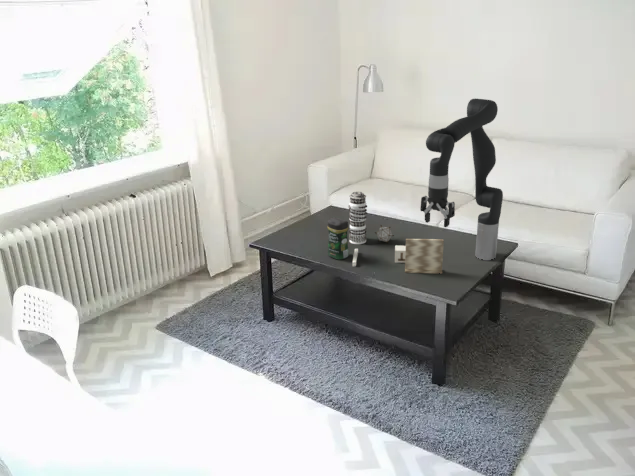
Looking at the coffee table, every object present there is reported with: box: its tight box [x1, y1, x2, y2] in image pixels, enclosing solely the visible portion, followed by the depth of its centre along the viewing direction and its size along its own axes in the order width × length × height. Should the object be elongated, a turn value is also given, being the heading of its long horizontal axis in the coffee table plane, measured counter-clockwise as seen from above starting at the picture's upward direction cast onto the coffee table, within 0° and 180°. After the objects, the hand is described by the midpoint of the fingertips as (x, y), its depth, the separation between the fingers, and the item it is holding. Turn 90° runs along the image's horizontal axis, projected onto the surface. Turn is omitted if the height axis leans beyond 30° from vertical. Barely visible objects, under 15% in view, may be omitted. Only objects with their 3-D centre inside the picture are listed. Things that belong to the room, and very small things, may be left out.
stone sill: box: [352, 248, 359, 267], centre depth 279 cm, size 16×2×2 cm, turn 173°
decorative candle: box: [348, 191, 368, 245], centre depth 295 cm, size 9×9×25 cm
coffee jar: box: [327, 216, 350, 260], centre depth 279 cm, size 10×8×19 cm
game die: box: [374, 224, 395, 244], centre depth 297 cm, size 9×8×10 cm
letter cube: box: [394, 245, 406, 264], centre depth 276 cm, size 6×6×6 cm
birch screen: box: [404, 238, 445, 275], centre depth 262 cm, size 16×4×15 cm, turn 83°
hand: (436, 224), depth 238 cm, fingers open, 8 cm apart
